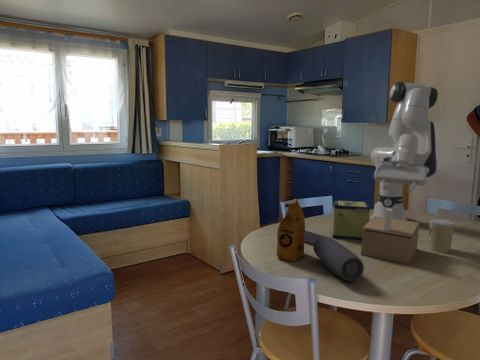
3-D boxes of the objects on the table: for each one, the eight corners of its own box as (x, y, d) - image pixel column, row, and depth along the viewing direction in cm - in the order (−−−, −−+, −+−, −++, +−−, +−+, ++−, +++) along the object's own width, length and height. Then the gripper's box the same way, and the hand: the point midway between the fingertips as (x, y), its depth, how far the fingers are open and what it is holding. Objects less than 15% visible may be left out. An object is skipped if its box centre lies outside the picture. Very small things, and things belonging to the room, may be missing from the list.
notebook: (278, 236, 178) (315, 248, 162) (278, 232, 177) (315, 244, 162) (295, 230, 186) (333, 241, 171) (295, 227, 186) (333, 238, 170)
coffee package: (272, 258, 148) (273, 202, 145) (284, 249, 159) (286, 196, 155) (296, 263, 143) (298, 205, 140) (307, 253, 154) (310, 199, 150)
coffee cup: (431, 244, 167) (434, 217, 166) (455, 249, 161) (458, 222, 159) (423, 249, 161) (426, 221, 159) (447, 255, 154) (450, 226, 152)
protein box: (368, 241, 171) (370, 206, 168) (332, 238, 174) (334, 204, 172) (365, 234, 181) (367, 201, 179) (331, 231, 184) (333, 199, 182)
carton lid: (374, 218, 168) (375, 198, 167) (419, 224, 159) (421, 203, 158) (362, 229, 152) (364, 207, 150) (411, 237, 142) (413, 213, 141)
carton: (372, 241, 170) (374, 219, 169) (416, 249, 161) (419, 226, 159) (360, 254, 153) (362, 230, 152) (409, 264, 144) (411, 238, 142)
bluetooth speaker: (364, 283, 126) (366, 254, 125) (338, 286, 125) (340, 256, 123) (333, 259, 148) (335, 234, 147) (311, 260, 146) (312, 235, 145)
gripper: (429, 171, 160) (425, 197, 154) (379, 167, 171) (372, 192, 164) (429, 161, 156) (424, 188, 149) (377, 157, 166) (370, 183, 160)
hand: (396, 190), depth 157 cm, fingers open, 8 cm apart
